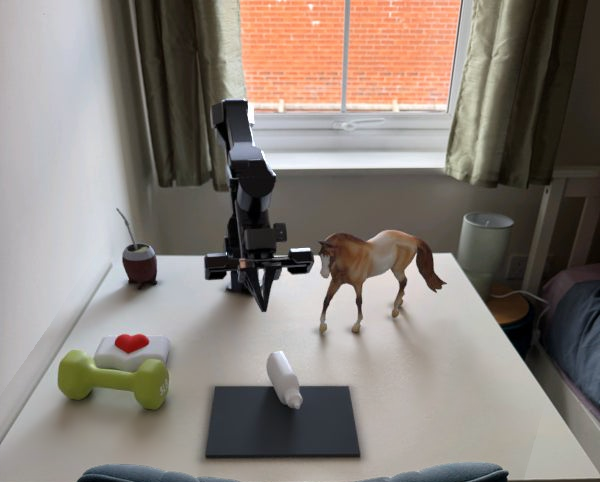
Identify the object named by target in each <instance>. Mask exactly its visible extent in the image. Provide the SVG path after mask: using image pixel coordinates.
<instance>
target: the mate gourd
mask: <svg viewBox="0 0 600 482" xmlns="http://www.w3.org/2000/svg"><path fill="white" fill-rule="evenodd" d="M115 210H116V211H117V213H118V214H119V215H120V216H121V218H122V219H123V221H124V224H125V227H126V229H127V231H128V233H129V236H130V239H131V242H132V243H131V244H128V245H127V246H126V247H125V248H124V250H123V252H122V255H121V256H122V257H121V262H122V266H123V268H124V271H125V273H126V277H127V278H128V280H127V283H128V284H134V285H137V289H138V290H142V289H143V288H144V285H157V284H158V280H157V275H158V259H157V256H156V253H155V251H154V249H153V247H152V246H151V245H149V244H147V243H143V242H142V243H141V242H139V243H137V242H136V240H135V237H134V234H133V232H132V228H131V226H130V222H129V220H127V217H126V216H125V215H124V213H123V212H122V211H121V210H120V209H119V208H118V207H116V208H115Z"/></svg>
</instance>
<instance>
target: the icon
mask: <svg viewBox="0 0 600 482" xmlns="http://www.w3.org/2000/svg"><path fill="white" fill-rule="evenodd" d="M170 347H171V341H170V338H169V337H168V336H166V335H159V334H158V335H156V334H155V335H153V334H152V335H148V334H147V335H145V334H142V333H136V334H133V335H130V334H127V333H123V334H119V335H105V336H103V337H102V338H101V340H100V342H99V344H98V346H97V349H96V351H95V353H94V355H93V358H92V359H93V360H94V362H95V364H96V368H99V369H110V370H119V371H125V372H131V373H133V372H136V371H137V370H138V368H139V367H140V366H141V364H142V363H143V362H145V361H146V360H148V359H157V360H161V361H162V362H163V363H164V365H165V366H166V363H167V359H168V356H169V352H170Z"/></svg>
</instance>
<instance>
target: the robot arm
mask: <svg viewBox="0 0 600 482" xmlns="http://www.w3.org/2000/svg"><path fill="white" fill-rule="evenodd" d="M209 113H210V115H209V116H210V125H211V127H210V128H211V129H213V130H214V135H215V141H216V142H217V143H218V145H219V146H220V147H221V148H222V150H223V151H224V155H225V156H224V157H225V168H224V169H225V170H224V171H225V172H224V173H225V182H226V186H227V187H228V193H229V203H230V210H231V211H230V212H231V216H230V218H229V219H228V222H227V224H226V231H225V235H224V236H223V241H222V242H223V243H222V252H215V253H206V254H205V256H204V257H203V272H204V273H203V274H204V279H205V280H206V281H221V280H224V279H225V278H226V277H227V275H228V272H229V273H230V275H229V276H230V283H228V284H227V285H225V290H227V291H230V292H231V291H232V292H235V293H238V294H242V295H243V294H244V295H247V296H252V297H253V299H254V301H255V303H256V304H257V306H258V308H259V311H260V312H261V313H267V311H268V307H269V301H270V296H271V291H272V287H273V283H274V281H278V280H280V277H281V275H282V272H283V269H285V268H286V271H287V272H288V273H289V274H290V275H291V276H297V275H307V274H309V273H311V270H312V268H313V266H314V264H315V255H314V252H313V251H312V249H311V248H310V247H302V248H300V247H299V248H290V249H289V251H288V254H287V255H285V256H284V255H283V256H275V255H276V254H277V248H278V247H277V244H280V243H286V242H288V231H287V223H286V222H284V221H283V222H274V223H273V224H272V227H271V220H270V212H269V208H270V206H271V202H272V198H273V194H274V189H275V185H276V183H277V175H276V173H275V172H274V171H273V170H272V168H271V166H270V163H268V162H266V158H265V154H264V151H263V150H261V148H259V147H257V146H256V145H255V142H254V136H253V132H252V129H253V127H254V126H255V119H254V105H253V104H252V103H249V100H248V99H245V98H240V97H239V98H238V97H237V98H224V99H222V100H221V101H220V102H218V103H215V104H212V105H211V106H210V112H209ZM260 270H262V271H263V275H262V278H261V280H260V275H259V274H260Z"/></svg>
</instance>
